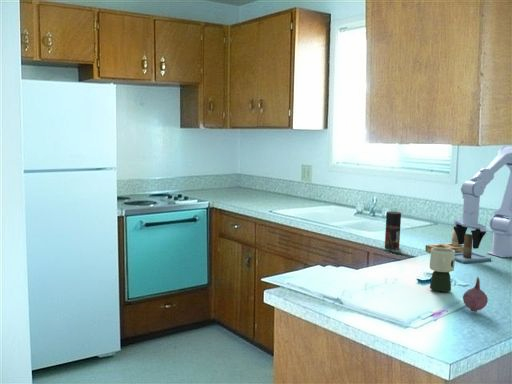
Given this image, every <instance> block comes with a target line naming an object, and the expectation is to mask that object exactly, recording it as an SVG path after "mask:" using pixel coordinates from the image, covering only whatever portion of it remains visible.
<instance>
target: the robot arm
mask: <svg viewBox="0 0 512 384" xmlns="http://www.w3.org/2000/svg"><path fill="white" fill-rule="evenodd" d="M504 166H506V167H507V168H508V169H509V171H510V172H509V175H508V179H507V184H506V187H505V190H504V194H503V197H502V202H501V205H500V207H499V208H498V209H497V210H495V211H494V212H493V215H492V216H491V218H490V220H489V227H490V230H491V232H492V233H493V235H492V247H491V251H487V252H486V254H489V255H493V256H496V257H498V258H499V257H500V258H509V257H511V258H512V146H510V145H509V146H508V145H502V147H501V148H500V149H499V150H498V152H497V155H496V157H495V158H494V159H493V160H492V161H491V162H490V163H489V165H488V166H487V167H483V168H480V169H479V170H478V172H477V173H475V175H474V176H472V177H471V178H470V180H465V182H463V183H462V185H461V187H460V191H461V195H462V200H463V204H462V205H463V206H462V219H454V222H453V225H454V226H453V229H454V230H455V232H456V235H457V239H458V244H462V245H464V235H465V234H467V230H468V229H471V231H470V232H471V233H470V234H472V237H473V240H472V250H473V249H474V250H476V249H478V250H479V247H480V244H481V243H482V240H483V238H484V237H485V235H486V234H487V226H486V225H483V224H480V223H479V213H480V200H481V196H482V195H483V194H484V192H485V189H486V187H487V186H488V184H490V183H491V181H493V180H494V178H495V174H496V173H497V172H498V171H499V170H500V169H501V168H503V167H504Z"/></svg>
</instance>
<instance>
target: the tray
mask: <svg viewBox="0 0 512 384" xmlns="http://www.w3.org/2000/svg"><path fill="white" fill-rule="evenodd" d="M491 261H492V257H491V256H488V255H483V254H480V253H477V252H473V251H472V256H471V258H464V257H463V253H455V262H458V263H461V264H468V263H480V262H491Z"/></svg>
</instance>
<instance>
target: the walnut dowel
mask: <svg viewBox="0 0 512 384" xmlns="http://www.w3.org/2000/svg"><path fill="white" fill-rule="evenodd" d="M463 245H464V251H463V257H464V258H471V256H472V252H473V237H472V233H466V234H465V235H464V244H463Z"/></svg>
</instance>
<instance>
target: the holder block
mask: <svg viewBox="0 0 512 384" xmlns="http://www.w3.org/2000/svg"><path fill="white" fill-rule="evenodd" d="M437 247H439V248H448V249H452V250H455V253H463V251H464V244H459V247H453V246H452V242H449V243H433V244H426V245H425V248H424V249H425V252H427V253H429V254H431V248H437Z"/></svg>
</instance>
